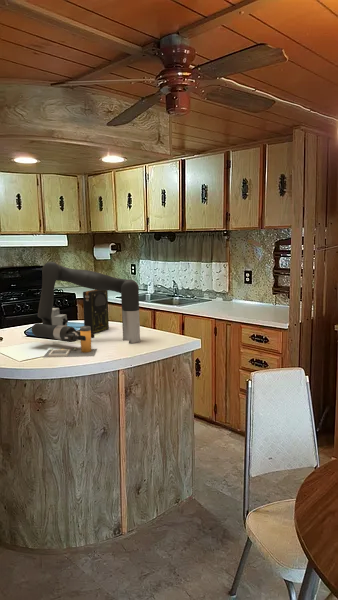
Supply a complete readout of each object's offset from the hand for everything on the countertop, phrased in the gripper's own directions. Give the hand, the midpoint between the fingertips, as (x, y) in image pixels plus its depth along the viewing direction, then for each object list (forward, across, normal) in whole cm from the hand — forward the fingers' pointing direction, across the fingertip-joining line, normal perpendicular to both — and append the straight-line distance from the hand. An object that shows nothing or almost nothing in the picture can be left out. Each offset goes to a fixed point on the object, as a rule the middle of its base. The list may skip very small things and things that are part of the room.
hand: (89, 337), depth 223 cm
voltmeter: (-33, +42, +9) cm, 54 cm away
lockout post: (-3, 0, +7) cm, 8 cm away
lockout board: (-7, -6, +9) cm, 13 cm away
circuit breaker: (-49, +24, +9) cm, 55 cm away
